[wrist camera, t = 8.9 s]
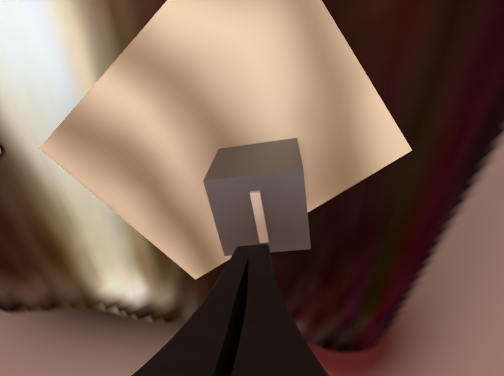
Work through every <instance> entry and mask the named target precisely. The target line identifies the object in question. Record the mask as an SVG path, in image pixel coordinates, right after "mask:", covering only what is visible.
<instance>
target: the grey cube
mask: <svg viewBox="0 0 504 376" xmlns="http://www.w3.org/2000/svg"><path fill="white" fill-rule="evenodd" d="M203 182H204V186H205V190H206V193H207V197H208V200H209V204H210V207H211V211H212V214H213V218H214V221H215V225H216V228H217V232H218V235H219V239H220V242H221V246H222V249H223V253H224V256H232V254H233V253H234V251H235V249H236V248H237V246H247V245H258V244H267V245H268V246H269V249H270V252H280V251H292V250H304V249H311V245H310V234H309V224H308V213H307V202H306V192H305V181H304V170H303V165H302V160H301V155H300V150H299V145H298V141H297V138H292V139H285V140H277V141H270V142H263V143H256V144H249V145H242V146H234V147H227V148H220V149H218V151H217V153H216V155H215V157H214V159H213V161H212V163H211V166H210V168H209V170H208V172H207V174H206V176H205V178H204V180H203Z"/></svg>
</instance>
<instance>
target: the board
mask: <svg viewBox="0 0 504 376" xmlns="http://www.w3.org/2000/svg"><path fill="white" fill-rule="evenodd" d="M292 138H297V141H298V145H299V150H300V155H301V160H302V165H303V170H304V181H305V192H306V202H307V213H308V212H310V211H311V210H313V209H315V208H316V207H318V206H320V205H321V204H323V203H325V202H326V201H328V200H330V199H331V198H333V197H335V196H336V195H338V194H340V193H341V192H343V191H345V190H346V189H348V188H350V187H351V186H353V185H355V184H356V183H358V182H360V181H361V180H363V179H365V178H366V177H368V176H370V175H372V174H373V173H375V172H377V171H378V170H380V169H382V168H383V167H385V166H387V165H388V164H390V163H392V162H393V161H395V160H397V159H398V158H400V157H402V156H403V155H405V154H407V153H408V152H410V151H412V149H411V148H410V146H409V144H408V143H407V141H406V139H405V138H404V136H403V134H402V133H401V131H400V129H399V128H398V126H397V124H396V123H395V121H394V120H393V118H392V116H391V115H390V113H389V111H388V110H387V108H386V106H385V105H384V103H383V101H382V100H381V98H380V96H379V95H378V93H377V91H376V90H375V88H374V86H373V85H372V83H371V81H370V80H369V78H368V76H367V75H366V73H365V71H364V70H363V68H362V66H361V65H360V63H359V61H358V60H357V58H356V57H355V55H354V53H353V52H352V50H351V48H350V47H349V45H348V43H347V42H346V40H345V38H344V37H343V35H342V33H341V32H340V30H339V28H338V27H337V25H336V23H335V22H334V20H333V18H332V17H331V15H330V13H329V12H328V10H327V8H326V7H325V5H324V3H323V2H322V0H167V1H166V2H165V4H164V5H163V6H162V7H161V8H160V9H159V11H158V12H157V13H156V14H155V15H154V16H153V18H152V19H151V20H150V21H149V22H148V23H147V24H146V26H145V27H144V28H143V29H142V30H141V31H140V33H139V34H138V35H137V36H136V37H135V38H134V40H133V41H132V42H131V43H130V44H129V45H128V47H127V48H126V49H125V50H124V51H123V52H122V53H121V55H120V56H119V57H118V58H117V59H116V60H115V62H114V63H113V64H112V65H111V66H110V67H109V69H108V70H107V71H106V72H105V73H104V74H103V75H102V77H101V78H100V79H99V80H98V81H97V82H96V84H95V85H94V86H93V87H92V88H91V89H90V91H89V92H88V93H87V94H86V95H85V96H84V98H83V99H82V100H81V101H80V102H79V103H78V104H77V106H76V107H75V108H74V109H73V110H72V111H71V113H70V114H69V115H68V116H67V117H66V118H65V120H64V121H63V122H62V123H61V124H60V125H59V126H58V128H57V129H56V130H55V131H54V132H53V133H52V135H51V136H50V137H49V138H48V139H47V140H46V142H45V143H44V144H43V145H42V146H41V147H40V149H41V150H42V151H43V152H44V153H45V154H46V155H48V156H49V157H50V158H51V159H52V160H54V161H55V162H56V163H57V164H58V165H60V166H61V167H62V168H63V169H64V170H66V171H67V172H68V173H69V174H70V175H72V176H73V177H74V178H75V179H76V180H77V181H79V182H80V183H81V184H82V185H83V186H85V187H86V188H87V189H88V190H89V191H91V192H92V193H93V194H94V195H95V196H97V197H98V198H99V199H100V200H101V201H103V202H104V203H105V204H106V205H107V206H108V207H110V208H111V209H112V210H113V211H114V212H116V213H117V214H118V215H119V216H120V217H122V218H123V219H124V220H125V221H126V222H128V223H129V224H130V225H131V226H132V227H134V228H135V229H136V230H137V231H138V232H139V233H141V234H142V235H143V236H144V237H145V238H147V239H148V240H149V241H150V242H151V243H153V244H154V245H155V246H156V247H157V248H159V249H160V250H161V251H162V252H163V253H165V254H166V255H167V256H168V257H169V258H170V259H172V260H173V261H174V262H175V263H176V264H178V265H179V266H180V267H181V268H182V269H184V270H185V271H186V272H187V273H188V274H190V275H191V276H192V277H193V278H194V279H197V278H199V277H201V276H202V275H204V274H206V273H207V272H209V271H211V270H212V269H214V268H216V267H217V266H219V265H221V264H222V263H224V262H226V261H227V260H229V259H230V258H231V256H224V253H223V249H222V246H221V242H220V239H219V235H218V232H217V228H216V225H215V221H214V218H213V214H212V211H211V207H210V204H209V200H208V197H207V193H206V190H205V186H204V182H203V180H204V178H205V176H206V174H207V172H208V170H209V168H210V166H211V163H212V161H213V159H214V157H215V155H216V153H217V151H218V149H220V148H227V147H234V146H242V145H249V144H256V143H263V142H270V141H277V140H285V139H292Z"/></svg>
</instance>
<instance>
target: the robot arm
mask: <svg viewBox="0 0 504 376" xmlns="http://www.w3.org/2000/svg"><path fill="white" fill-rule="evenodd" d="M0 154H1V149H0ZM132 376H328V374H327V373H326V371H325V370H324V368H323V367H322V366H321V364H320V363H319V361H318V360H317V358H316V357H315V355H314V354H313V352H312V350H311V349H310V347H309V346H308V344H307V342H306V341H305V339H304V337H303V336H302V334H301V333H300V331H299V329H298V327H297V325H296V324H295V322H294V320H293V318H292V316H291V314H290V312H289V310H288V308H287V306H286V304H285V302H284V300H283V297H282V295H281V293H280V290H279V288H278V285H277V282H276V279H275V277H274V271H273V266H272V260H271V255H270V249H269V246H268V245H267V244H258V245H247V246H237V248H236V249H235V251H234V253H233V254H232V256H231V258H230V260H229V262H228V264H227V265H226V267H225V269H224V270H223V272H222V274H221V275H220V277H219V278H218V280H217V282H216V283H215V285H214V286H213V288H212V289H211V291H210V292H209V293H208V295H207V296H206V298H205V299H204V301H203V302H202V303H201V305H200V306H199V307H198V309H197V310H196V311H195V312H194V314H193V315H192V316H191V317H190V318H189V320H188V321H187V322H186V323H185V324H184V325H183V327H182V328H181V329H180V330H179V331H178V332H177V333H176V334H175V335H174V336H173V338H172V339H171V340H170V341H169V342H168V343H167V344H166V345H165V346H164V347H163V348H162V349H161V350H160V351H159V352H157V354H155V355H154V356H153V357H152V358H151V359H150V360H149V361H148V362H147V363H146V364H145V365H144V366H143V367H141V368H140V369H139V370H138V371H137V372H136V373H134V374H133V375H132Z"/></svg>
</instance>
